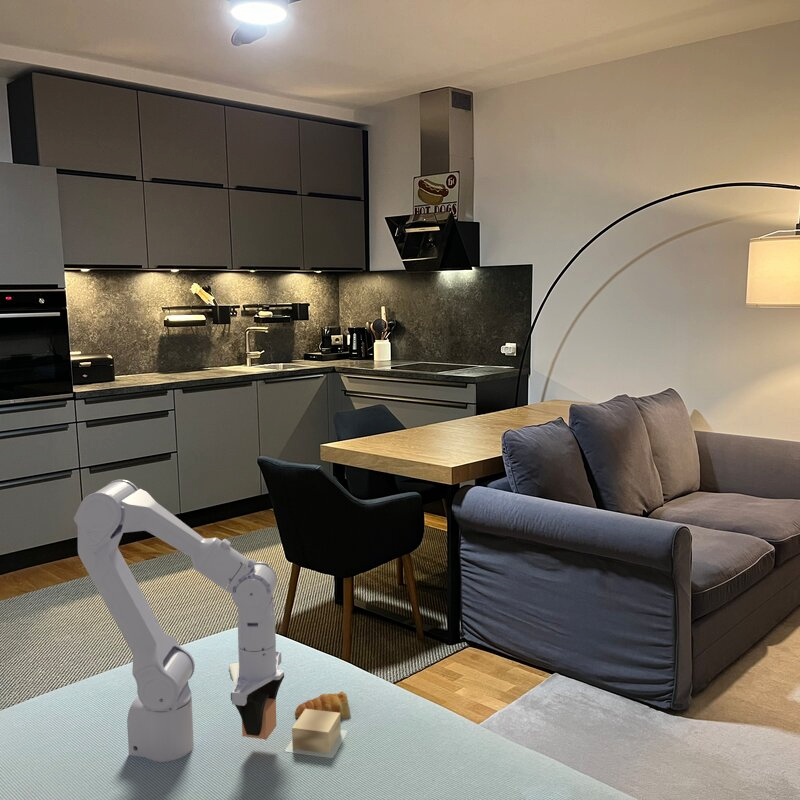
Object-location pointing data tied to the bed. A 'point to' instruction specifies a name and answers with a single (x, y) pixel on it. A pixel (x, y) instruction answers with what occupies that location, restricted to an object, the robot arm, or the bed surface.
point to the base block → (316, 731)
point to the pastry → (327, 704)
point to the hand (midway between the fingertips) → (259, 726)
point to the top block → (265, 720)
